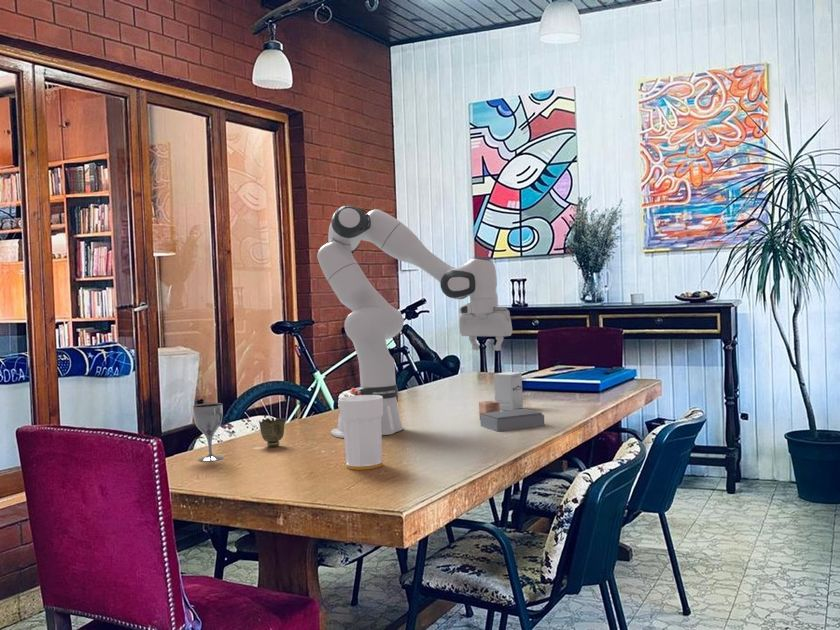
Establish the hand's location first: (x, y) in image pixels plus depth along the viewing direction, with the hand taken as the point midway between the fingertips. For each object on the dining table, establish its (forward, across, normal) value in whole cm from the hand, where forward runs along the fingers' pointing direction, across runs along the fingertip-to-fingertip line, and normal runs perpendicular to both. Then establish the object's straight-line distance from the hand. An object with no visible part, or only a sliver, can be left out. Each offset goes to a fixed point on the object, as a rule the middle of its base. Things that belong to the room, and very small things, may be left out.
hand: (486, 350), depth 278 cm
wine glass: (+23, +26, +87) cm, 93 cm away
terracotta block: (+23, 0, 0) cm, 23 cm away
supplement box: (+23, +10, -22) cm, 33 cm away
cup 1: (+23, +26, +66) cm, 75 cm away
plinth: (+23, -13, +4) cm, 27 cm away
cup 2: (+23, -19, +69) cm, 75 cm away
